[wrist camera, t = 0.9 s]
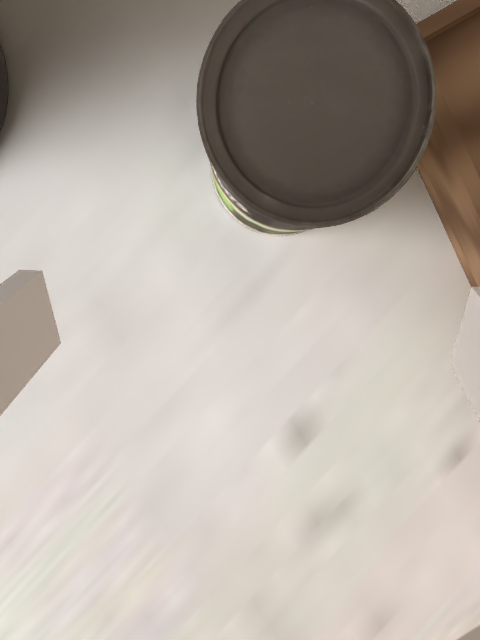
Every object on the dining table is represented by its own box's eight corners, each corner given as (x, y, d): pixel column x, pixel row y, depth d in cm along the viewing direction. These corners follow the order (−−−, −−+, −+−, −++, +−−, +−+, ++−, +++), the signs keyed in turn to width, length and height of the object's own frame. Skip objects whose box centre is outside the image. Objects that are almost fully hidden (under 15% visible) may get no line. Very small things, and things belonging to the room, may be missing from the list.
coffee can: (231, 252, 33) (232, 253, 19) (194, 114, 32) (166, 6, 18) (362, 217, 33) (458, 192, 19) (332, 76, 31) (412, -63, 18)
